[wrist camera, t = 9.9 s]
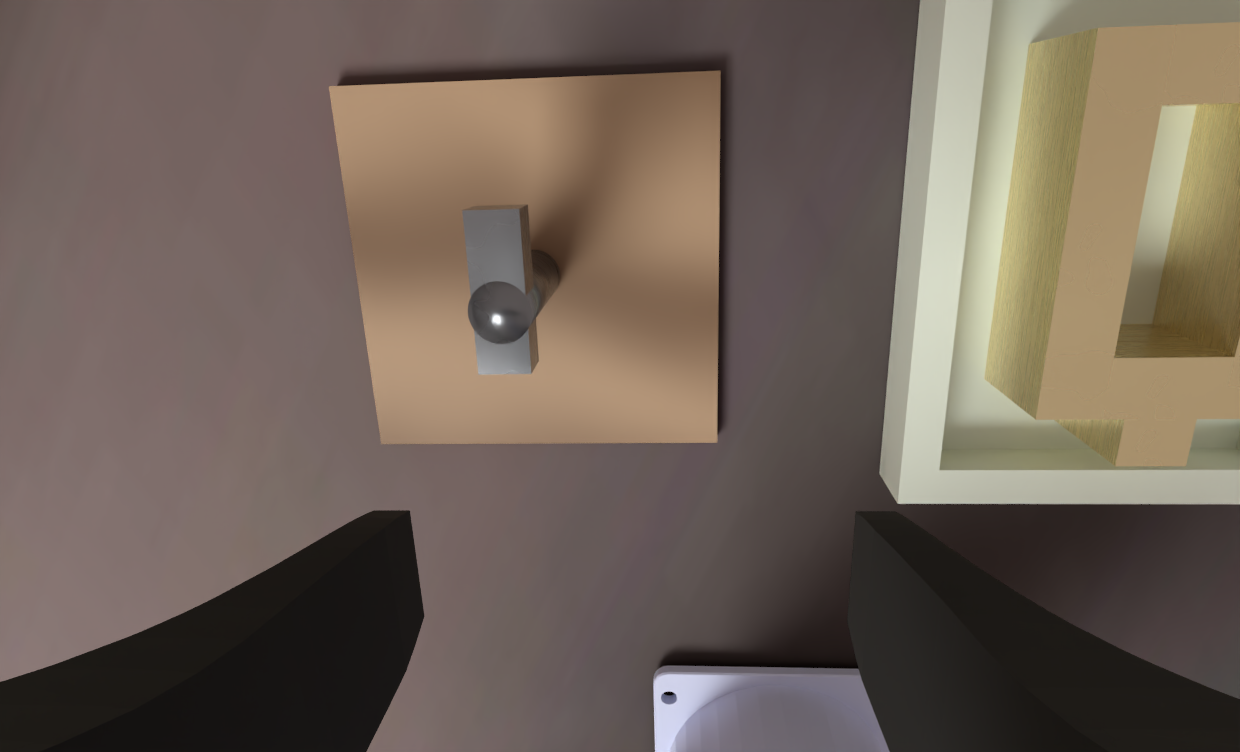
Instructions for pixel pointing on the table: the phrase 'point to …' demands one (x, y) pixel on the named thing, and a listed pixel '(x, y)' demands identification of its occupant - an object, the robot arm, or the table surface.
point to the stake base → (560, 226)
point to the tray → (969, 263)
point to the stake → (505, 287)
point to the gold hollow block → (1122, 242)
